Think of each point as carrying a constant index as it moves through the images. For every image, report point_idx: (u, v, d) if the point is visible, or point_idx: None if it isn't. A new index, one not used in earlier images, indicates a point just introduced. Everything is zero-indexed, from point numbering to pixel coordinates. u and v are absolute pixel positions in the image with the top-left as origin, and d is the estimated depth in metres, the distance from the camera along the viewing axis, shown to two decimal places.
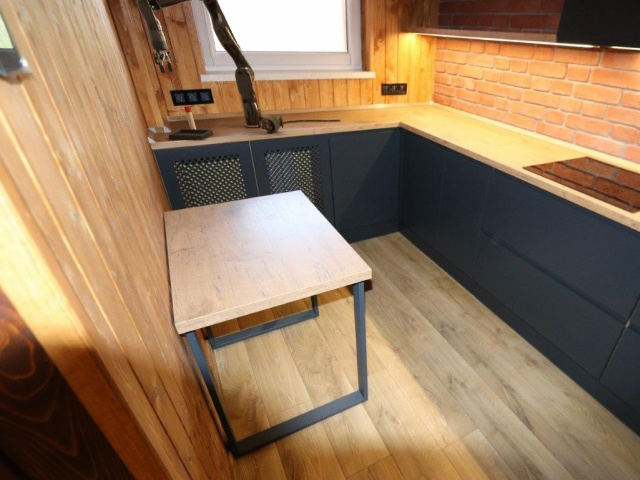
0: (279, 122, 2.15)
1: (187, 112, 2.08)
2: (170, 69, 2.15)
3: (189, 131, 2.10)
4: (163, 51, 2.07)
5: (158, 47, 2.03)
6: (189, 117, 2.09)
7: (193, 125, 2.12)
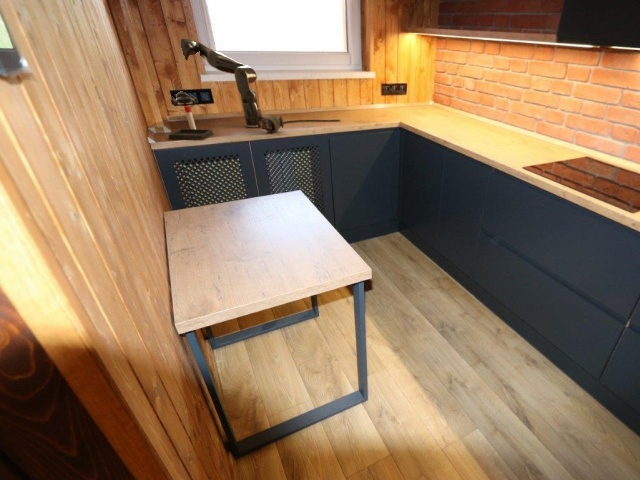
0: (279, 122, 2.15)
1: (187, 112, 2.08)
2: (192, 102, 2.18)
3: (189, 131, 2.10)
4: (183, 97, 2.22)
5: (176, 98, 2.22)
6: (189, 117, 2.09)
7: (193, 125, 2.12)
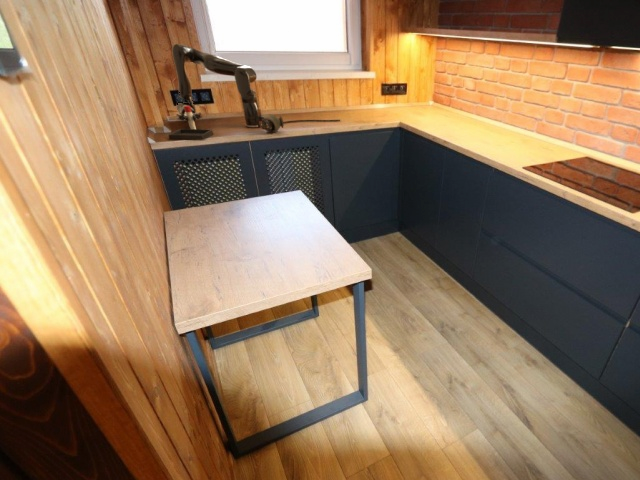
0: (279, 122, 2.15)
1: (187, 113, 2.08)
2: (193, 118, 2.10)
3: (189, 131, 2.10)
4: None
5: (181, 113, 2.17)
6: (189, 117, 2.09)
7: (193, 125, 2.12)
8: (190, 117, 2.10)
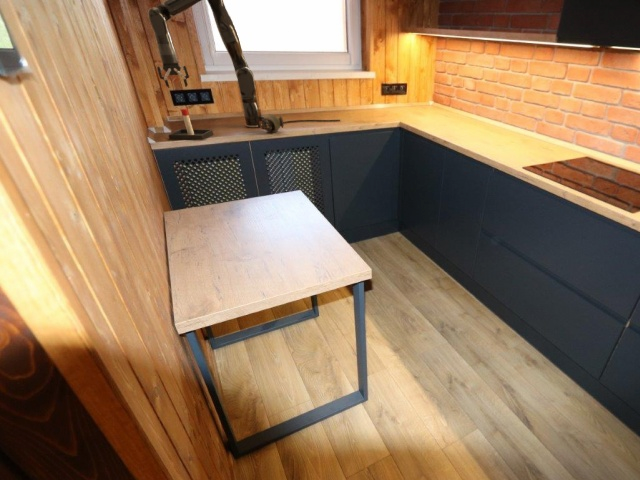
0: (279, 122, 2.15)
1: (184, 116, 1.99)
2: None
3: None
4: (171, 65, 1.96)
5: (162, 61, 1.93)
6: (186, 120, 2.00)
7: (190, 129, 2.03)
8: (187, 120, 2.00)
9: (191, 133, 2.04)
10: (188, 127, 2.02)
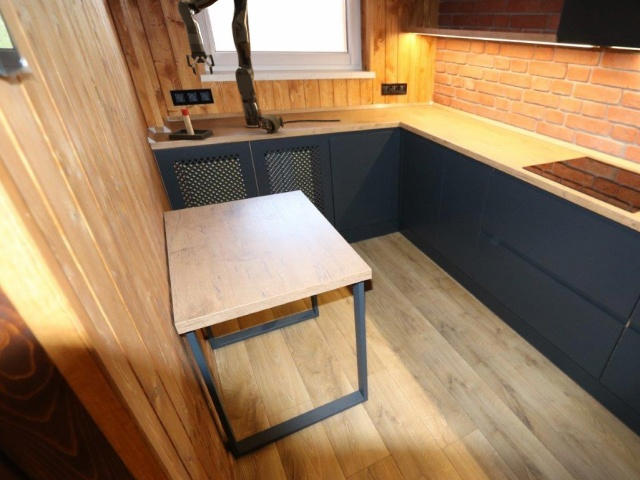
0: (279, 122, 2.15)
1: (184, 116, 1.99)
2: (210, 72, 2.18)
3: None
4: (199, 54, 2.11)
5: (190, 49, 2.08)
6: (186, 120, 2.00)
7: (190, 129, 2.03)
8: (187, 120, 2.00)
9: (191, 133, 2.04)
10: (188, 127, 2.02)
